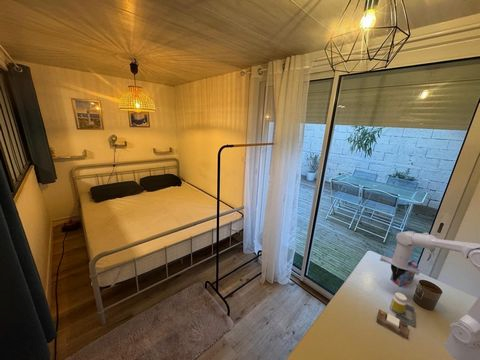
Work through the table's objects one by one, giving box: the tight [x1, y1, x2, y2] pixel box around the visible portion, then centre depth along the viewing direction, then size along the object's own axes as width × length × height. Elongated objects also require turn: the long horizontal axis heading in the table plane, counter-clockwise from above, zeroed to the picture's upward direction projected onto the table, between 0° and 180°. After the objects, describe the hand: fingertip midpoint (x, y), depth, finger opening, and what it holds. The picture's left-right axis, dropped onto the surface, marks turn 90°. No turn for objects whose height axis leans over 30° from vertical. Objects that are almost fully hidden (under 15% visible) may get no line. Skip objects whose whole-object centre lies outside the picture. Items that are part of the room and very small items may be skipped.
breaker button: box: [385, 313, 399, 328], centre depth 82 cm, size 4×4×2 cm
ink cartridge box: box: [390, 259, 419, 288], centre depth 104 cm, size 10×6×14 cm, turn 109°
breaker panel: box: [376, 308, 409, 340], centre depth 82 cm, size 10×6×3 cm, turn 49°
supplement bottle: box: [389, 292, 408, 316], centre depth 88 cm, size 5×5×8 cm
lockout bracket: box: [394, 303, 416, 328], centre depth 87 cm, size 6×9×2 cm, turn 139°
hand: (394, 279), depth 95 cm, fingers closed
